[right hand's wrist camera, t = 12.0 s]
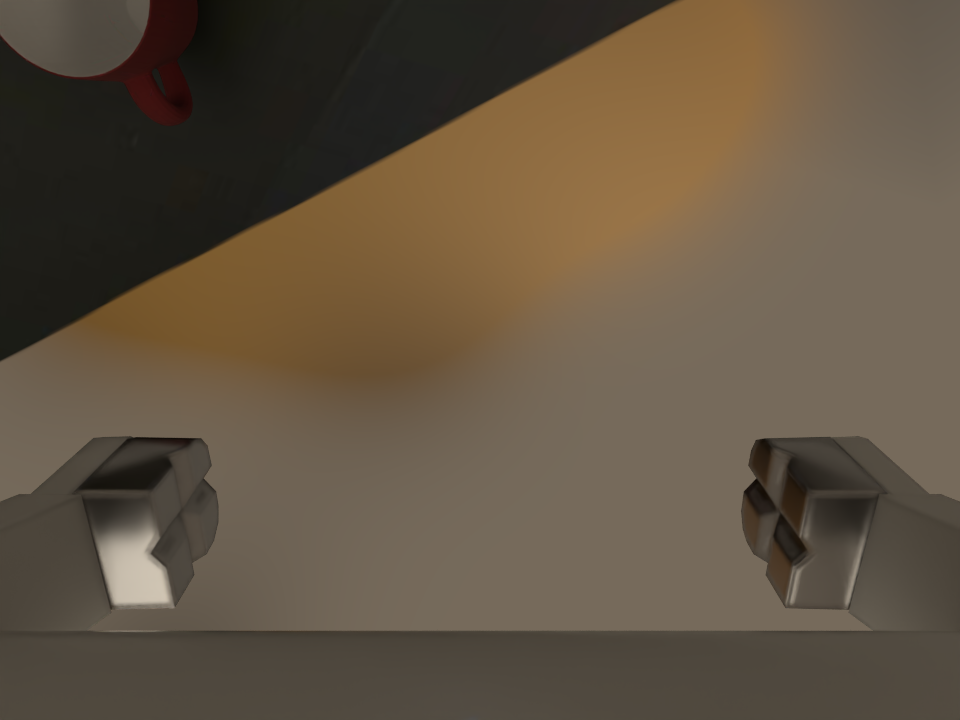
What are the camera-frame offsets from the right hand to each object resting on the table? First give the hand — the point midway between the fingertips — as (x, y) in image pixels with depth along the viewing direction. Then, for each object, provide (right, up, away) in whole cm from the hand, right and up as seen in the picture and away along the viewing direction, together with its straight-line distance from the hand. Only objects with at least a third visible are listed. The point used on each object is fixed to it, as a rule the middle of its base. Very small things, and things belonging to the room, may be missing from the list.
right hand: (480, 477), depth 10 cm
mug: (-18, +21, +30) cm, 41 cm away
